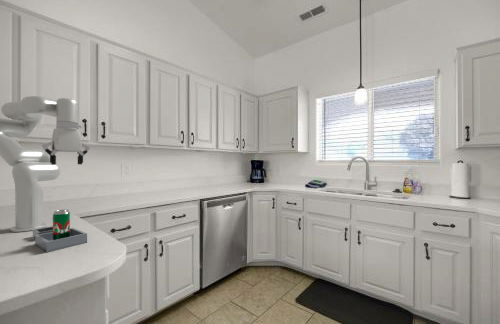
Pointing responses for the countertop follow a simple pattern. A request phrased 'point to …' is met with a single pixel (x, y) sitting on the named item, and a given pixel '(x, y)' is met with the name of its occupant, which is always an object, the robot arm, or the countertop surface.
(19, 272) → the countertop surface
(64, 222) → the soda can
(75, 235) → the tray
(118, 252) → the countertop surface
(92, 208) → the countertop surface
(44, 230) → the pin socket
